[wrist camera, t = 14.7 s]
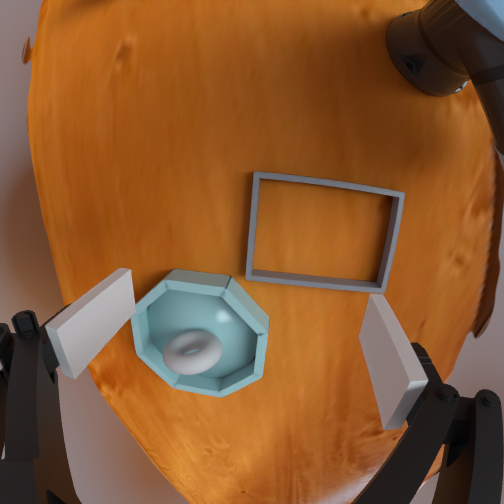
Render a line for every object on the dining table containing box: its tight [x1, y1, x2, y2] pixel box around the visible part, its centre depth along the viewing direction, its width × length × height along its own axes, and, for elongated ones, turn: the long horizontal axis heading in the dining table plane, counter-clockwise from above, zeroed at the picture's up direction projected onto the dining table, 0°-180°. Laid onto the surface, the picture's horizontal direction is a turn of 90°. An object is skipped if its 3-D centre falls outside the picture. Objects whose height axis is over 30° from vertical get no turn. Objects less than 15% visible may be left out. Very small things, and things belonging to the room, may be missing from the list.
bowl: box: [131, 269, 270, 397], centre depth 47 cm, size 23×23×4 cm
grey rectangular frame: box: [245, 171, 405, 293], centre depth 40 cm, size 22×16×2 cm
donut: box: [162, 330, 222, 375], centre depth 43 cm, size 10×3×10 cm, turn 100°
